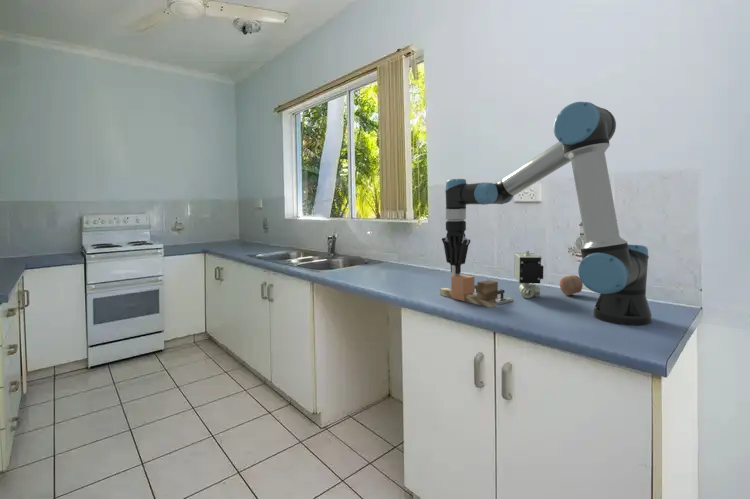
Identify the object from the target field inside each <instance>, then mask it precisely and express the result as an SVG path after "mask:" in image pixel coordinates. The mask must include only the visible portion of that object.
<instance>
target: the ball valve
mask: <svg viewBox="0 0 750 499" xmlns="http://www.w3.org/2000/svg"><path fill="white" fill-rule="evenodd" d="M542 260H543V256H541V255H537V254H535V253H533V252H530V251H529V250H526V251H525V252H514V275H513V276H514V278H515V279H516V281H518V283H519V284H520V285H519V286H518V292H519V293H520V295H521V296H522V297H523V298H525V299H530V298H534V297H535V298H536V297H538V296H540V295H541V289H540V287H541V286H539V285H536V284H541V280H543V279H544V265H542Z"/></svg>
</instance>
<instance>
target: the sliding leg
mask: <svg viewBox="0 0 750 499" xmlns="http://www.w3.org/2000/svg"><path fill="white" fill-rule="evenodd" d="M450 278H451V283H450V284H451V285H450V286H451V287H450V289H451V292H452V298H451V299H452V300H459V301H461V302H462V301H463V302H466V301H465V294H469V293H470V294H474V290H476V293H477V284H475V276H472V275H466V274H460V275H457V276H452V275H451V277H450Z"/></svg>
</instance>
